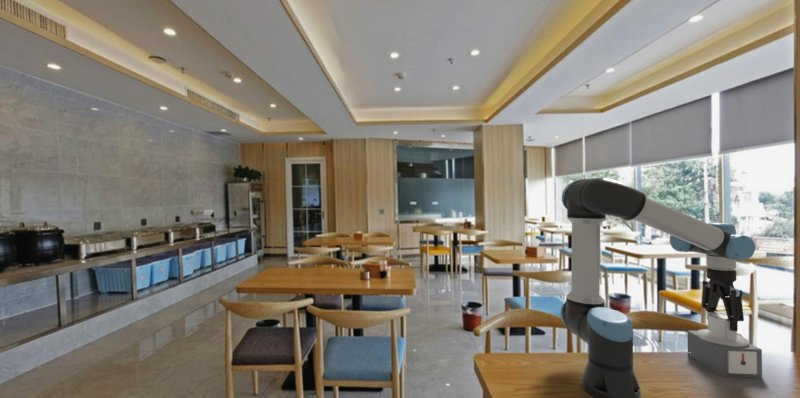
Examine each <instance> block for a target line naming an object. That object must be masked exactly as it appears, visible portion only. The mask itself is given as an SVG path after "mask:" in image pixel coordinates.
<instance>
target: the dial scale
mask: <svg viewBox="0 0 800 398" xmlns="http://www.w3.org/2000/svg"><path fill="white" fill-rule="evenodd" d="M686 331H687V355H688V356H689V357H690V358H692V359H693V360H695V361H696V362H698V363H700V364H702V366H704V367H706V368H707V369H709V370H710V371H712V372H714V373H715V374H717V375H718V376H720V377H731V378H733V377H735V378H758V379H759V378H760V377H761V378H763V353H762V352H763V351H762V348H759V347H758V346H755V345H753V344H751V343H750V341H749V339H748V338H746V337H744V336H742V335H739V334H737V340H726V339H720V338H716V337H714V336H712V335H711V331H709V330H708V328H705V329H703V328H702V329H698V330H686ZM688 352H689V353H688ZM690 352H691V353H690Z"/></svg>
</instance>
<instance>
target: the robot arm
mask: <svg viewBox="0 0 800 398" xmlns="http://www.w3.org/2000/svg"><path fill="white" fill-rule="evenodd" d="M561 202H562V205H563V207H564V208H565V209H566V210H567V211H566V213H567V214H566V216H567V217H566V218H567V219H568V221H569V222H571V272H570V273H571V283H570V285H571V287H570V288H571V289H570V292H569V293H567V294H566V298H565V299H566V300H565V301H564V303H562V305H561V307H560V313H559V314H560V318H561V321H562V323H563V326H564V327H566V328H567V330H569V331H570V332H571V334H573V335H575V336H577V337H578V338H579V339H581V340H582V341H583V342H585V343H586V344H587V352H588V353H587V354H588V355H587V357H588V358H587V363H586V366H585V369H584V372H583V374H582V378H581V381H582V382H581V383H582V387H584V388H583V389H584V391H585V392H587V394H589V395H591V397H594V398H642V396H641V395H642V391H641V388H640V384H639V381H638V379H637V377H636V374H635V371H634V339H633V338H634V335H635V334H634V329H633V328H634V327H633V322H632V320H631V318H630V317H629V316H627V314H625V313H623V312H621V311H619V310H616V309H613V308H609V307H606V306H605V305H606V304H605V303H606V301H605V299H604V298H603V297H602V296H601V294H600V292H601V290H600V285H601V281H600V280H601V278H600V277H601V276H600V275H601V273H600V272H601V225H602V223H604V221H606V219H607V216H611V217H616V218H620V219H622V220H624V221H633V220H634V221H636V222H638V223H640V224H643V225H645V226H648V227H650V228H653V229H655V230H657V231H659V232H662V233H665V234H667V235H669V244H670V247H671V248H672V249H673V250H675V251H676V252H681V253H682V252H683V253H689V252H690V253H697V254H703V255H705V258H706V259H705V263H706V264H705V265H706V266H707V268H706V278H707V279H709V280H703V281H702V287H703V288H702V301H701V307H702V308H703V309H705V311H706V314H707V315H706V319H707V329H708V330H709V331H710V323H709V316H708V314H709V313H718V310H717V309H718V308H717V307H718V305H719V302H720V300H722V302H723V306H724V310H725V313H726V314H725V315H727V317H728V319H726V339H727V340H737V335H738V328H739V327H738V326H739V325H738V322H744V321H745V318H744V317H745V315H744V309H743V300H742V296H743V291H742V290H741V289H736V288H735V286H734V282H736V281H737V271H736V270H735V269H737V261H746V260H749V259H751V258H752V257H753V255H754V254H755V252H756V244H755V241H754V240H753V239H752V237H749V236H747V235H744V234H740V233H737V231H736V225H734V224H733V223H728V222H727V223H726V222H708V223H707V222H705V221H703V220H701V219H698V218H695V217H693V216H691V215H689V214H686V213H684V212H682V211H680V210H676V209H675V208H672V207H670V206H667V205H666V204H663V203H660V202H658V201H656V200H653V199H651V198H648V196H647V195H646V193H645V192H643V191H642V190H639V189H636V188H635V187H632V186H629V185H628V184H626V183H622V182H620V181H618V180H615V179H611V178H606V177H596V178H581V179H576V180H574V181H572V182H570V183H569V184H567V185H566V186H565V187H564V189H563V190H562V194H561Z"/></svg>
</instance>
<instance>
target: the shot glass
mask: <svg viewBox="0 0 800 398" xmlns="http://www.w3.org/2000/svg"><path fill="white" fill-rule="evenodd" d="M708 316H709V323H710V331H711V335H712V336H714V337H716V338H720V339H726V319H728V317H727V314H725V313H719V312H717V313H709V314H708ZM726 340H727V339H726Z"/></svg>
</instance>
